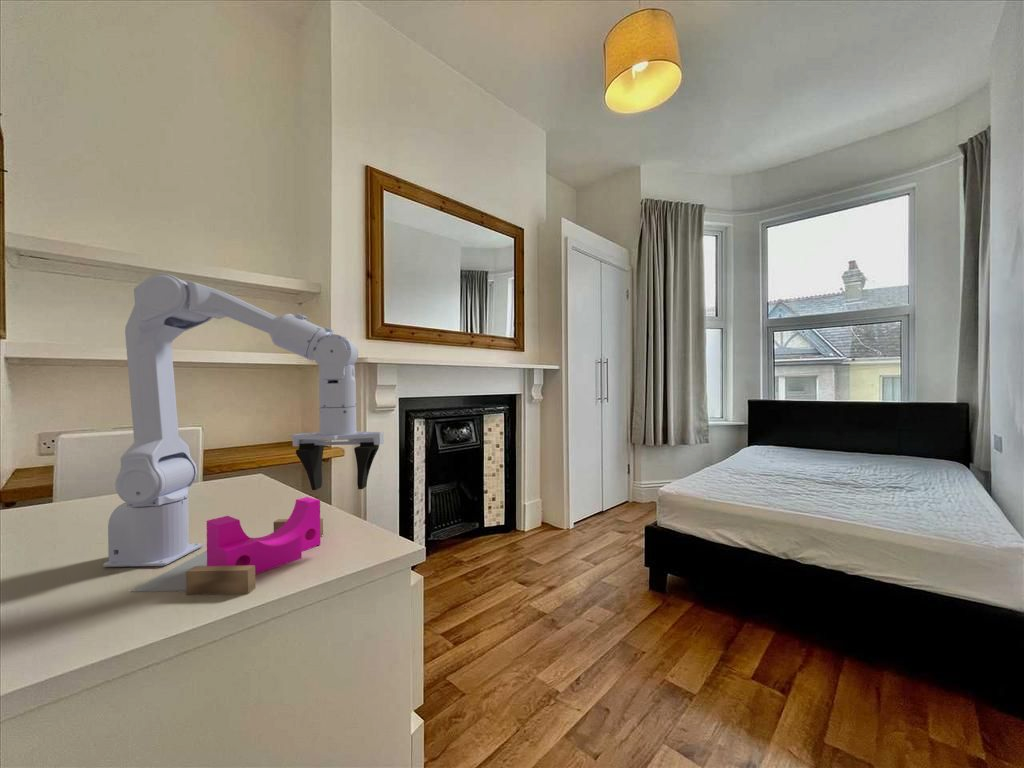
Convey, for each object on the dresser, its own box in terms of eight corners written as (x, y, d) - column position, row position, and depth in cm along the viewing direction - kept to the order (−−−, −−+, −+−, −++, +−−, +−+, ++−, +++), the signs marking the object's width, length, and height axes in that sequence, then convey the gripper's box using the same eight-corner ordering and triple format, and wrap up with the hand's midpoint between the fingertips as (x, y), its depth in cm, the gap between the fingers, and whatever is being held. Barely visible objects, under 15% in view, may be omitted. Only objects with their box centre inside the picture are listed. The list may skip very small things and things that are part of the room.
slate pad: (131, 595, 55) (130, 591, 55) (229, 541, 74) (229, 538, 74) (190, 594, 55) (190, 590, 55) (273, 540, 74) (273, 537, 74)
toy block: (226, 584, 56) (226, 528, 56) (207, 573, 60) (206, 520, 60) (329, 547, 69) (328, 502, 69) (307, 540, 72) (307, 496, 72)
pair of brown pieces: (186, 594, 54) (185, 571, 54) (278, 536, 75) (278, 519, 75) (248, 593, 54) (247, 570, 54) (323, 535, 75) (322, 518, 75)
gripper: (281, 409, 66) (283, 495, 66) (373, 407, 66) (374, 493, 66) (304, 407, 73) (305, 484, 73) (386, 405, 73) (388, 483, 73)
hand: (339, 488), depth 70 cm, fingers open, 7 cm apart
